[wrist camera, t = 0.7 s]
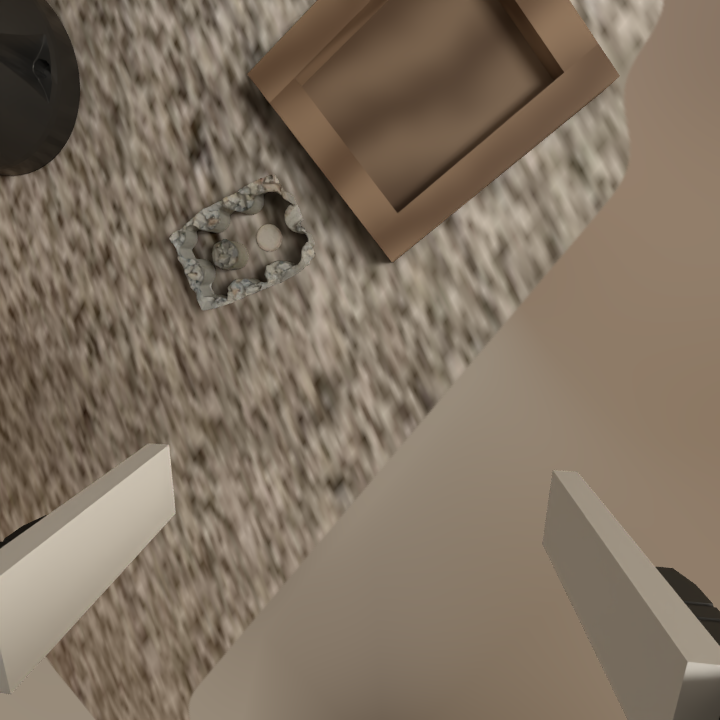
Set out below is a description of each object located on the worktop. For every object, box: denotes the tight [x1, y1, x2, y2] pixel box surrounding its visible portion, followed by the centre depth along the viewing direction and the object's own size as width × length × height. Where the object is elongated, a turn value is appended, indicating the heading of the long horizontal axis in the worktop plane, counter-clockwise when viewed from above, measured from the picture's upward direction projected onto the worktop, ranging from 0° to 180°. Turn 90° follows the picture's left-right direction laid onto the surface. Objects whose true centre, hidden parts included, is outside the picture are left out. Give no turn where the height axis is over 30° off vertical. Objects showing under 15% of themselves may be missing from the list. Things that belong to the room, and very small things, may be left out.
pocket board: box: [248, 0, 620, 262], centre depth 30 cm, size 17×19×2 cm
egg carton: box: [169, 175, 315, 310], centre depth 33 cm, size 11×8×4 cm
